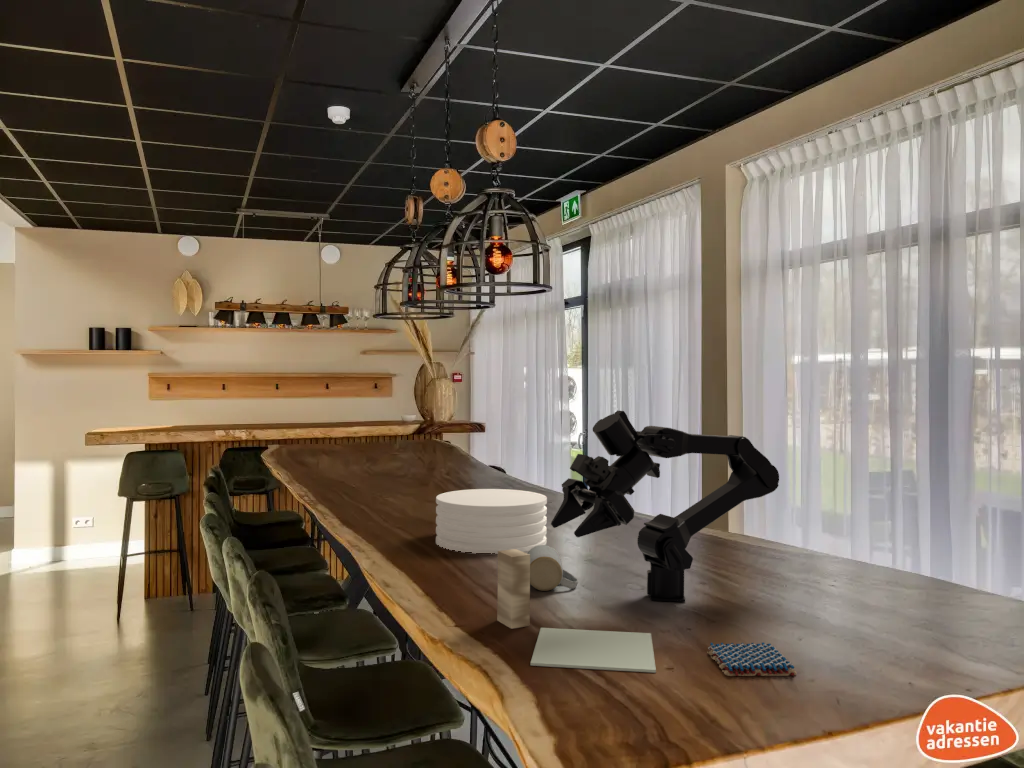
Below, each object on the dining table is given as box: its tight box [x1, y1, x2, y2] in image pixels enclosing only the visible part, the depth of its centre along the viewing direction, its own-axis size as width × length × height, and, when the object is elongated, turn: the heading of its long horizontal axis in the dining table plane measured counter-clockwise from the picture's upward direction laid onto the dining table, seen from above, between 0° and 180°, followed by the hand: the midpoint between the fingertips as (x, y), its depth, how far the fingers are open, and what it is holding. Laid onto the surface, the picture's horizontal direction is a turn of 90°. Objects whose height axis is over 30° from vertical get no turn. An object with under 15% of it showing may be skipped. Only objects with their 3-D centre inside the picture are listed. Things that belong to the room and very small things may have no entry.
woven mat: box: [706, 642, 798, 677], centre depth 116 cm, size 10×11×2 cm
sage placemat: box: [529, 627, 657, 674], centre depth 121 cm, size 18×16×1 cm
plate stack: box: [435, 488, 548, 555], centre depth 199 cm, size 28×28×12 cm
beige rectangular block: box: [496, 549, 531, 629], centre depth 134 cm, size 4×5×12 cm
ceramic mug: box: [526, 544, 579, 592], centre depth 157 cm, size 11×8×8 cm
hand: (563, 530), depth 141 cm, fingers open, 9 cm apart
